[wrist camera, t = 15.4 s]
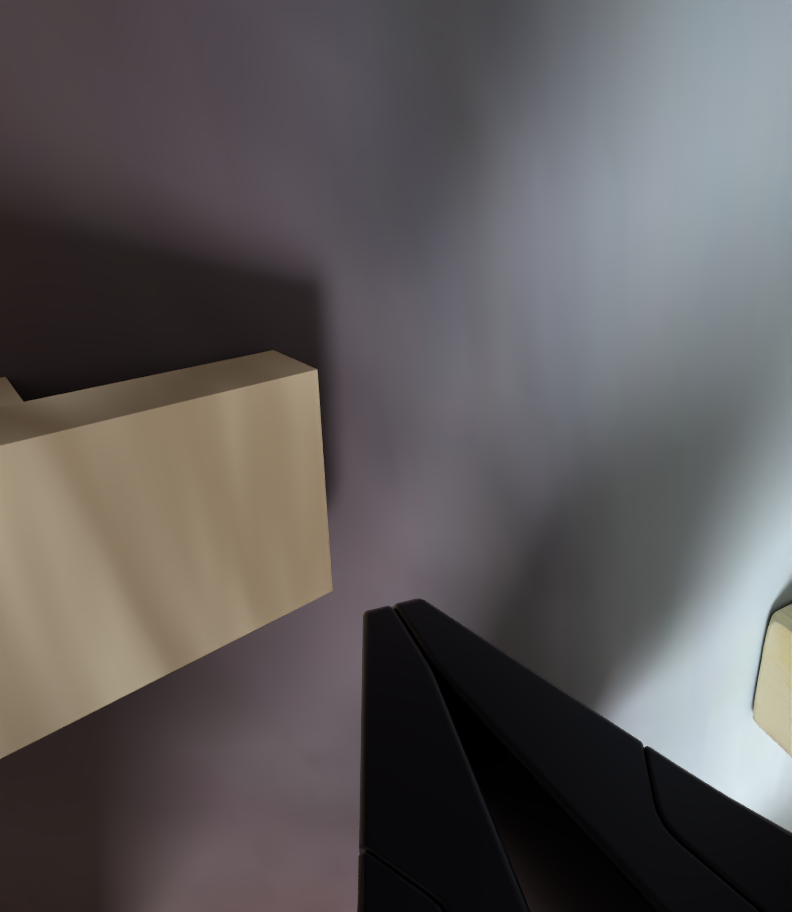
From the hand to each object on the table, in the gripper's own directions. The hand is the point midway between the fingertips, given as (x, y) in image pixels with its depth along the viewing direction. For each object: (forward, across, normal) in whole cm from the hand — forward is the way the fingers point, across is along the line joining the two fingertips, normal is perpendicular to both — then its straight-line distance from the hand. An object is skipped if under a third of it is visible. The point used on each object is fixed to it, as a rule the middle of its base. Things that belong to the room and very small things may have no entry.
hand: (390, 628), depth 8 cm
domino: (+5, 0, 0) cm, 5 cm away
